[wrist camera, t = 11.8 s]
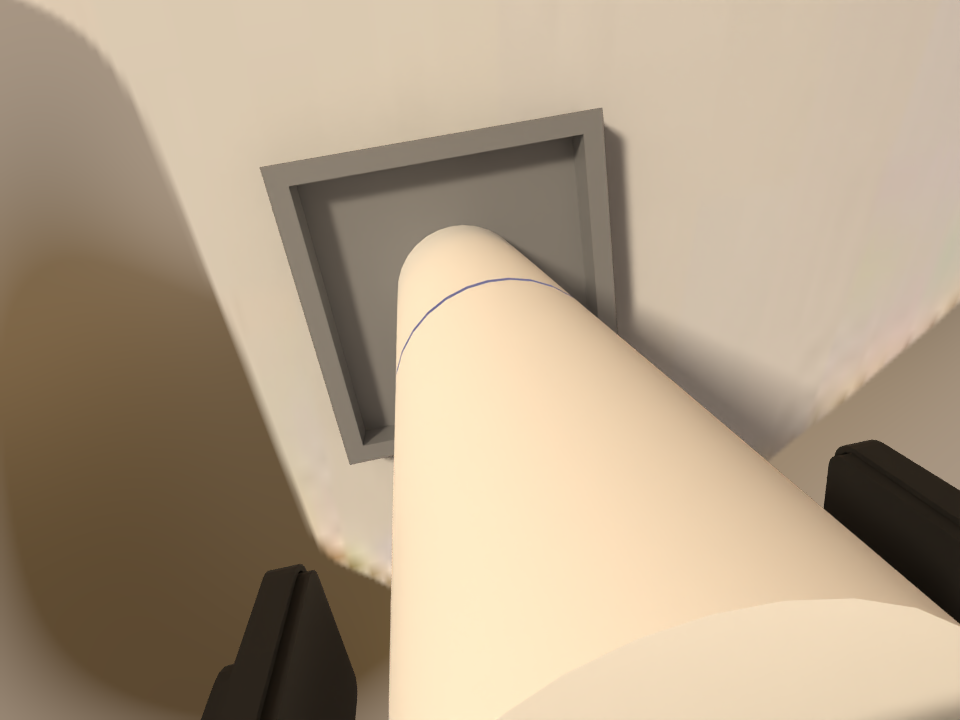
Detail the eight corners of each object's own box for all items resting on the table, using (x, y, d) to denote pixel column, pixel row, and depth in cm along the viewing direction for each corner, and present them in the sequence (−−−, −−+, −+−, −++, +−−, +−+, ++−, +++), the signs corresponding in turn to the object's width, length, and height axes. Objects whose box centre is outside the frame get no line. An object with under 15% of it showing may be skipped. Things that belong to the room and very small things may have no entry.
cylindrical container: (517, 212, 28) (1095, 516, 5) (535, 338, 30) (956, 919, 7) (383, 240, 27) (286, 723, 4) (413, 364, 30) (458, 1070, 7)
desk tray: (586, 111, 27) (602, 107, 25) (607, 390, 33) (622, 407, 31) (272, 166, 26) (259, 167, 24) (353, 443, 32) (349, 464, 30)
